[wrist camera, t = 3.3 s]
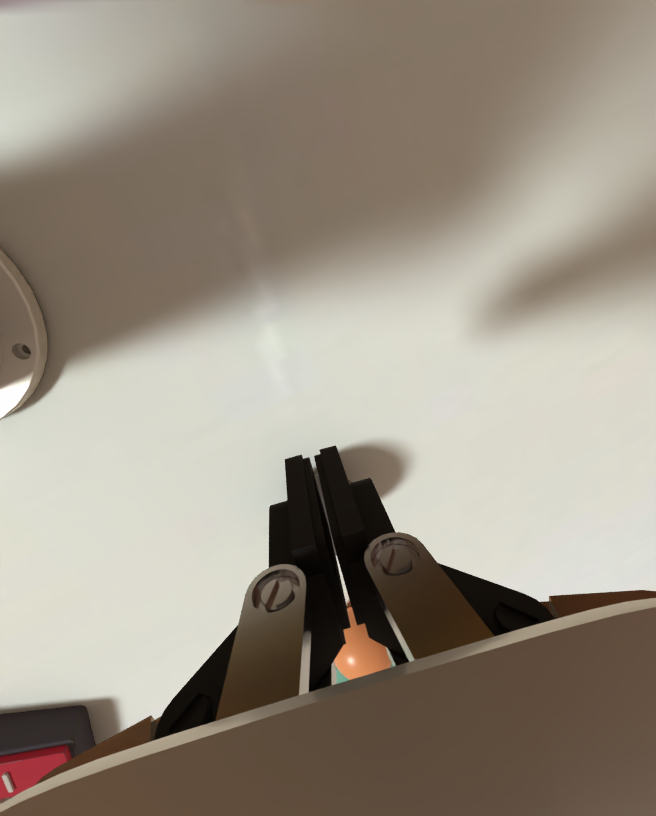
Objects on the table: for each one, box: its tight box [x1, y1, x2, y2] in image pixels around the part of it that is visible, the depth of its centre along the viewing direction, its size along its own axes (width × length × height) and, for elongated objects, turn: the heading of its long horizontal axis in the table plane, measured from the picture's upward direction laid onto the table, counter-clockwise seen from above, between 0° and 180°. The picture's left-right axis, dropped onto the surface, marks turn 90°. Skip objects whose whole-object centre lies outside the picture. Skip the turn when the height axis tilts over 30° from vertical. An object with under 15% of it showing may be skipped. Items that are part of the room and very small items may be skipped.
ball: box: [334, 607, 392, 680], centre depth 30 cm, size 6×6×6 cm
